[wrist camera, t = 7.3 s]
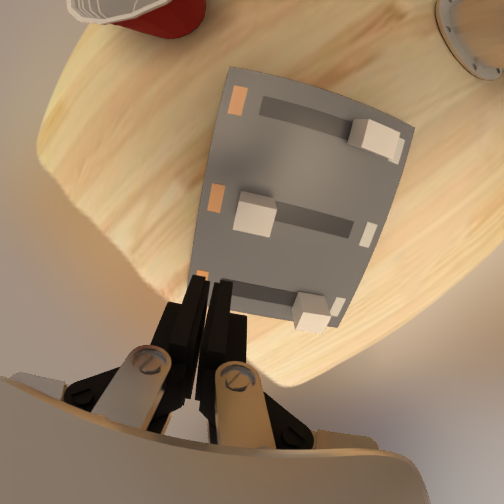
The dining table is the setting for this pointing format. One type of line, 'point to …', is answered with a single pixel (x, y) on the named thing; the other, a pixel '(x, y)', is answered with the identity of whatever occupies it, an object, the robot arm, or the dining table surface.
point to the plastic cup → (142, 15)
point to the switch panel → (293, 194)
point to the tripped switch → (255, 214)
